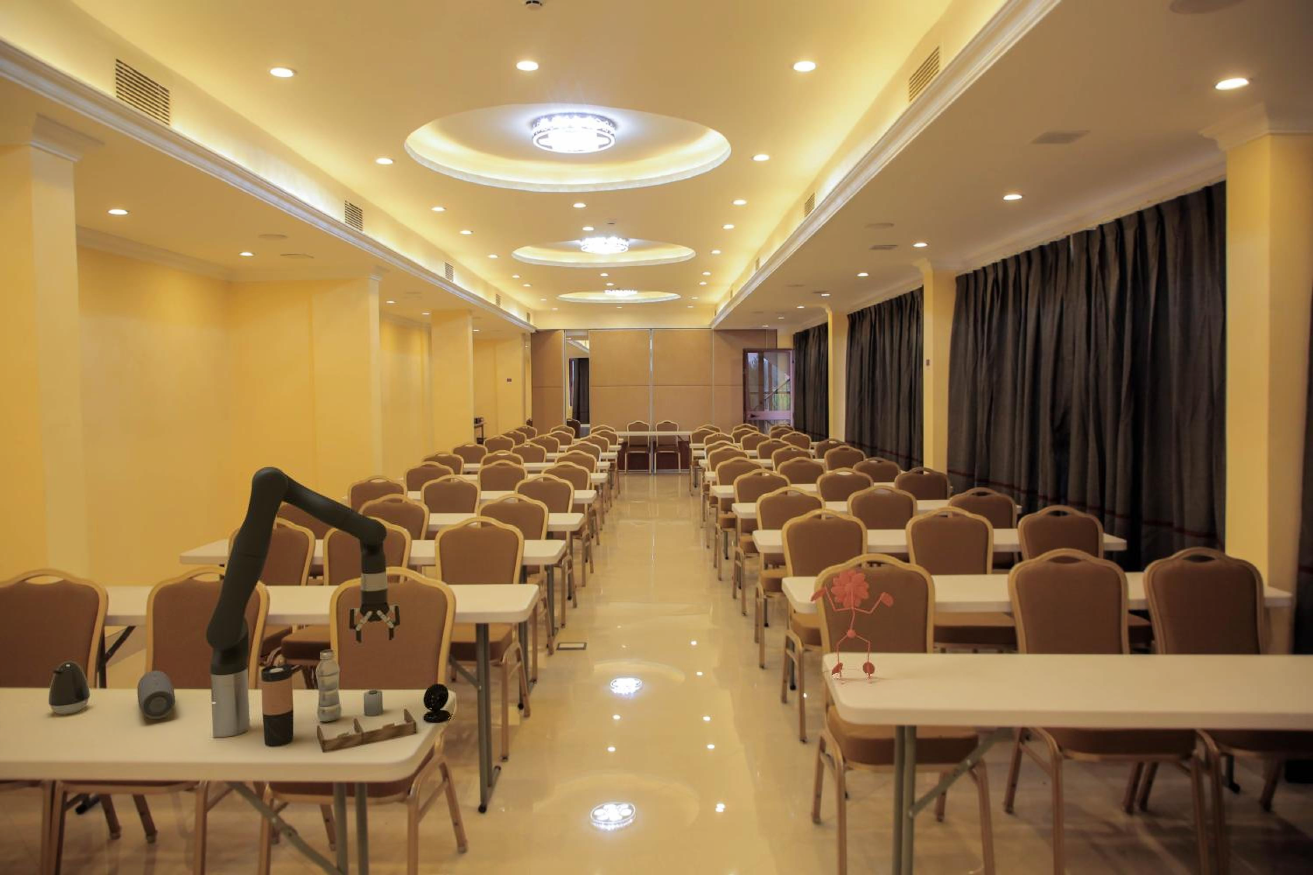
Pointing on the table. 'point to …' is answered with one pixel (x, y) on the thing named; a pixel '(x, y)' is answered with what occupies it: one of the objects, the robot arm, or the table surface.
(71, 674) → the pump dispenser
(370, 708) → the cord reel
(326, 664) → the plastic bottle
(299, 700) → the table surface
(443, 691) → the webcam
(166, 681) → the bluetooth speaker
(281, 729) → the travel mug
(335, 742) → the slot rack
